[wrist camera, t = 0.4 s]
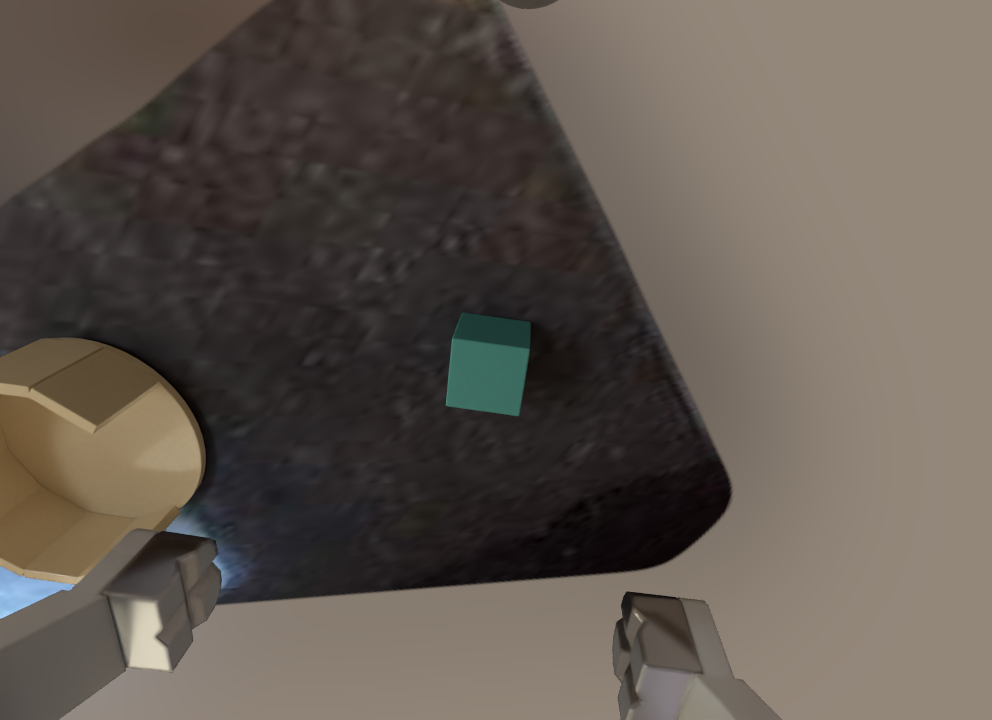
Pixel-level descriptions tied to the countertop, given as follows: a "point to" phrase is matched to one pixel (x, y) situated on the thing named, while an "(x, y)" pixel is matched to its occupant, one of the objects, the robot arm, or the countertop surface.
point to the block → (488, 364)
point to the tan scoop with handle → (87, 455)
